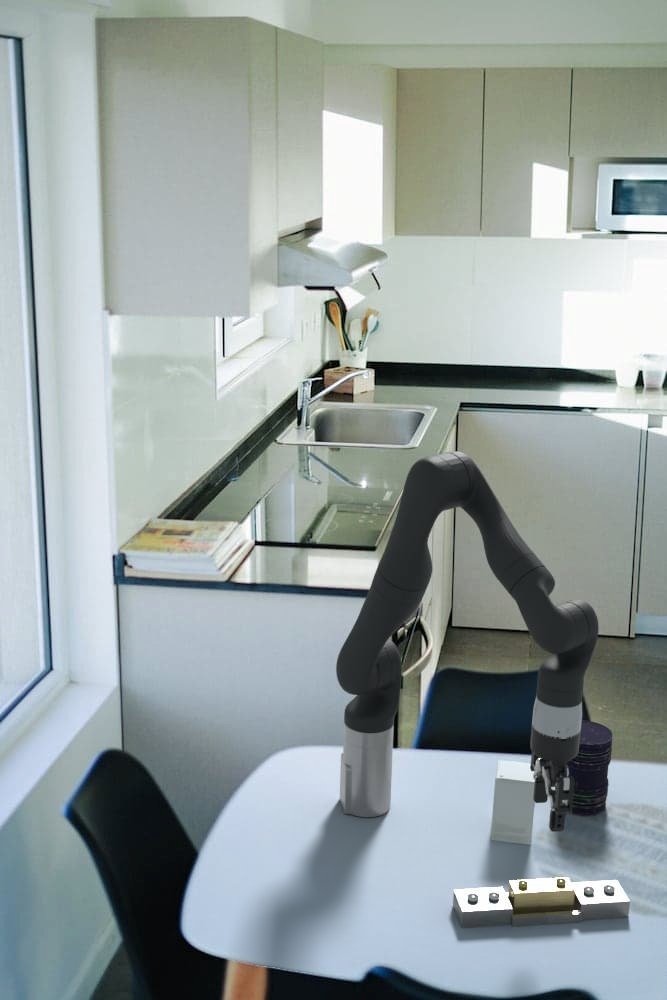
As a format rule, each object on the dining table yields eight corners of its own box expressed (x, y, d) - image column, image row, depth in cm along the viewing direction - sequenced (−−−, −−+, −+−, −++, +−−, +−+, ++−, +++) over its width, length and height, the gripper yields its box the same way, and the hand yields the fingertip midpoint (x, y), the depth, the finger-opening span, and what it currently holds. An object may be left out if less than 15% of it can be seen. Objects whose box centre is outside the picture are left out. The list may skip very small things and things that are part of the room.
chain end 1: (462, 929, 199) (463, 910, 198) (452, 903, 206) (453, 884, 205) (546, 924, 201) (548, 904, 200) (534, 898, 208) (535, 879, 207)
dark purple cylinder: (614, 799, 240) (621, 729, 235) (595, 822, 232) (602, 749, 227) (565, 784, 245) (571, 715, 240) (545, 806, 237) (551, 734, 232)
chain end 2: (546, 924, 201) (548, 904, 200) (534, 898, 208) (535, 879, 207) (629, 918, 203) (631, 899, 202) (614, 893, 210) (616, 875, 209)
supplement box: (531, 846, 223) (536, 782, 220) (489, 840, 225) (494, 777, 221) (533, 824, 230) (538, 763, 227) (493, 819, 231) (497, 758, 228)
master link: (512, 919, 202) (515, 889, 201) (507, 907, 205) (509, 877, 204) (572, 916, 203) (575, 886, 202) (566, 903, 207) (568, 874, 205)
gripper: (520, 704, 201) (513, 794, 206) (547, 746, 187) (538, 841, 192) (565, 703, 202) (556, 792, 207) (595, 745, 188) (585, 839, 193)
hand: (548, 815), depth 199 cm, fingers open, 8 cm apart
